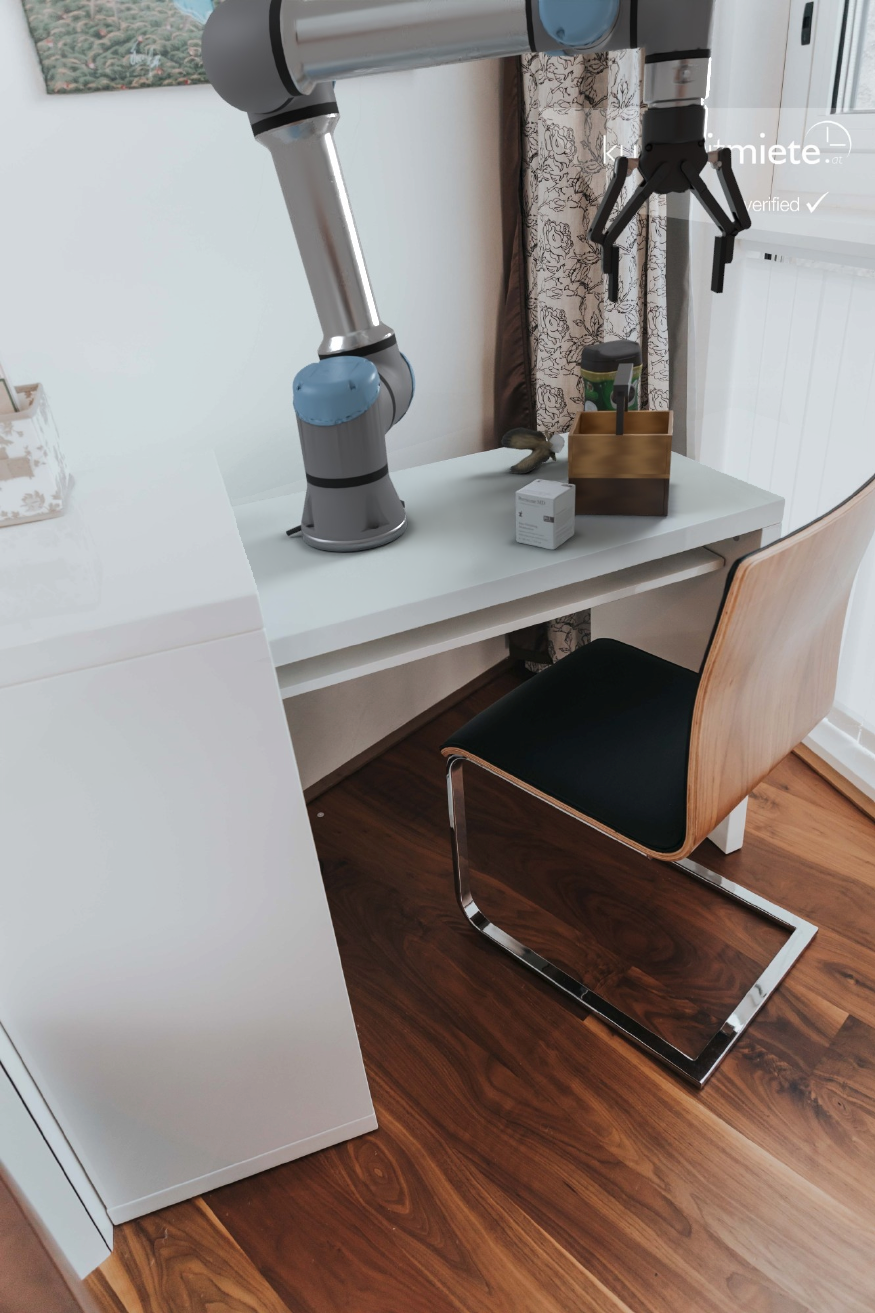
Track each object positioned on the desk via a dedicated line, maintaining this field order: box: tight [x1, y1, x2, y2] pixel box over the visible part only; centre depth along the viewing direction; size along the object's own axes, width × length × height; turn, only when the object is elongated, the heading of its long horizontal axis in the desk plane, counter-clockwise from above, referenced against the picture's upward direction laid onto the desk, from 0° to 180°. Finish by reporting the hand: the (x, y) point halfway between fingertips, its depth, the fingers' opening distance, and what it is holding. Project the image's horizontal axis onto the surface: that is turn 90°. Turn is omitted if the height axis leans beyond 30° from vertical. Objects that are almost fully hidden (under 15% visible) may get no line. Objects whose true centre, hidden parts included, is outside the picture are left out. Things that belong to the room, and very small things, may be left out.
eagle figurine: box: [500, 426, 566, 475], centre depth 145 cm, size 8×7×9 cm
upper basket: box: [567, 363, 674, 479], centre depth 125 cm, size 14×12×14 cm
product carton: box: [515, 478, 576, 550], centre depth 119 cm, size 6×6×7 cm
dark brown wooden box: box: [567, 477, 671, 517], centre depth 130 cm, size 14×12×6 cm
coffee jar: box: [579, 338, 643, 411], centre depth 144 cm, size 10×8×19 cm
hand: (664, 296), depth 115 cm, fingers open, 13 cm apart
